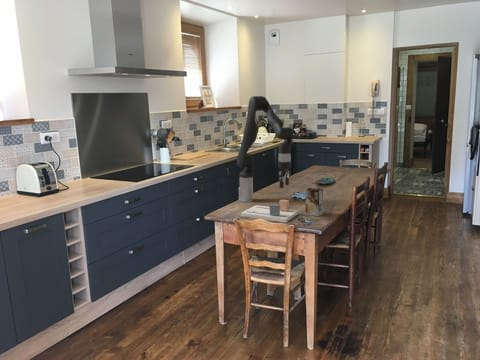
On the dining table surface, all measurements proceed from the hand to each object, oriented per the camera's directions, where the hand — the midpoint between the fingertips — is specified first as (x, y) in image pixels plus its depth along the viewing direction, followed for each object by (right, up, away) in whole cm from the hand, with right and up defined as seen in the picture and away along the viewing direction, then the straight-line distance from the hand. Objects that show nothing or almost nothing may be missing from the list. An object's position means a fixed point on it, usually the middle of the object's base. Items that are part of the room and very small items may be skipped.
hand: (284, 186), depth 254 cm
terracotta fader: (0, -15, +3) cm, 15 cm away
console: (-9, -18, +2) cm, 20 cm away
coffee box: (+19, -18, +1) cm, 26 cm away
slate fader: (-6, -17, -7) cm, 19 cm away
